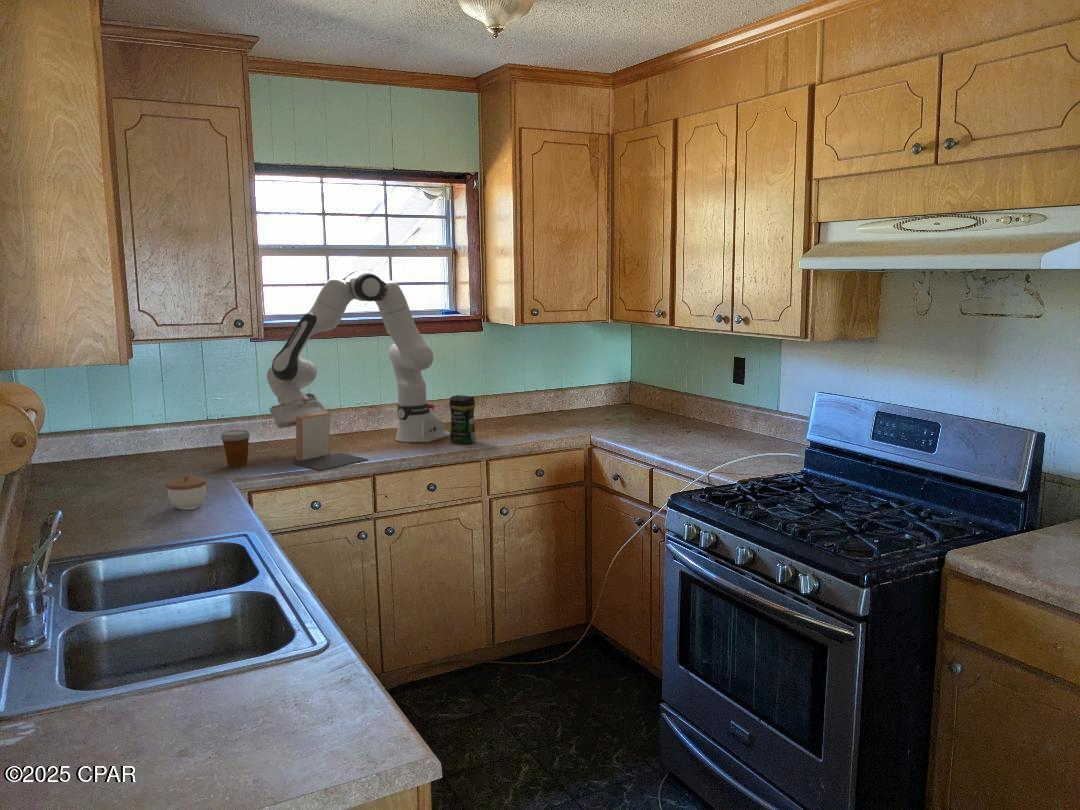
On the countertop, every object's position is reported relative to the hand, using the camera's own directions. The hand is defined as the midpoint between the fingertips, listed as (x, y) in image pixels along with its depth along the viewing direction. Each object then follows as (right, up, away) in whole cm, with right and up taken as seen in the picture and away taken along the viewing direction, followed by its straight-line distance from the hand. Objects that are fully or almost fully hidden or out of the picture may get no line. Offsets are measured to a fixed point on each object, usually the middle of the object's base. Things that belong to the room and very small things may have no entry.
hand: (309, 432), depth 301 cm
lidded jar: (-19, -20, -59) cm, 65 cm away
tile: (+1, -9, +1) cm, 9 cm away
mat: (+9, -10, -6) cm, 15 cm away
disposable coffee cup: (-22, -12, -11) cm, 27 cm away
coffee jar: (+53, -5, +24) cm, 59 cm away
